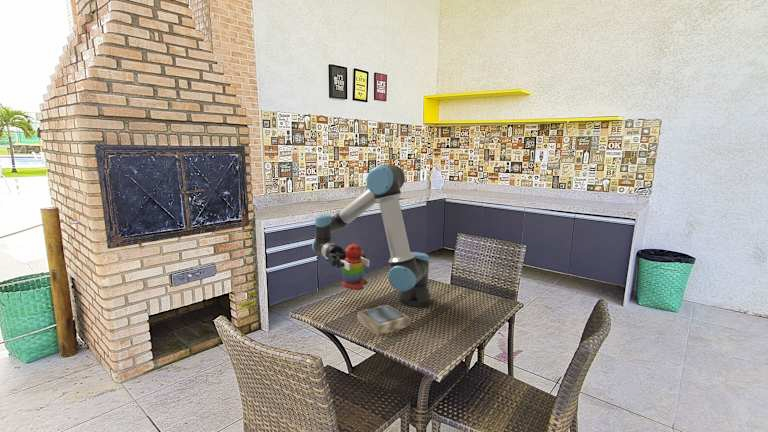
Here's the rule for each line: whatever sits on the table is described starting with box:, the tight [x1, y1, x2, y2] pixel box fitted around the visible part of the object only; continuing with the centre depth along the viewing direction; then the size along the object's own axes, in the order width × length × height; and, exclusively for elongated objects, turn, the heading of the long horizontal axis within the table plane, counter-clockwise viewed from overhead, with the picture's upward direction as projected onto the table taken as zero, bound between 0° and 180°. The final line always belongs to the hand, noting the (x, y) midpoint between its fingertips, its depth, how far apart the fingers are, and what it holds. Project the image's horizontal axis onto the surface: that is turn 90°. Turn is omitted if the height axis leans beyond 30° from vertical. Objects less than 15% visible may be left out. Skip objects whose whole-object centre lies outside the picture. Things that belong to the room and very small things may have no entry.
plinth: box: [356, 304, 410, 337], centre depth 155 cm, size 15×15×4 cm
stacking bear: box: [341, 242, 368, 291], centre depth 159 cm, size 11×10×18 cm
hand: (359, 265), depth 156 cm, fingers closed on stacking bear, 9 cm apart
